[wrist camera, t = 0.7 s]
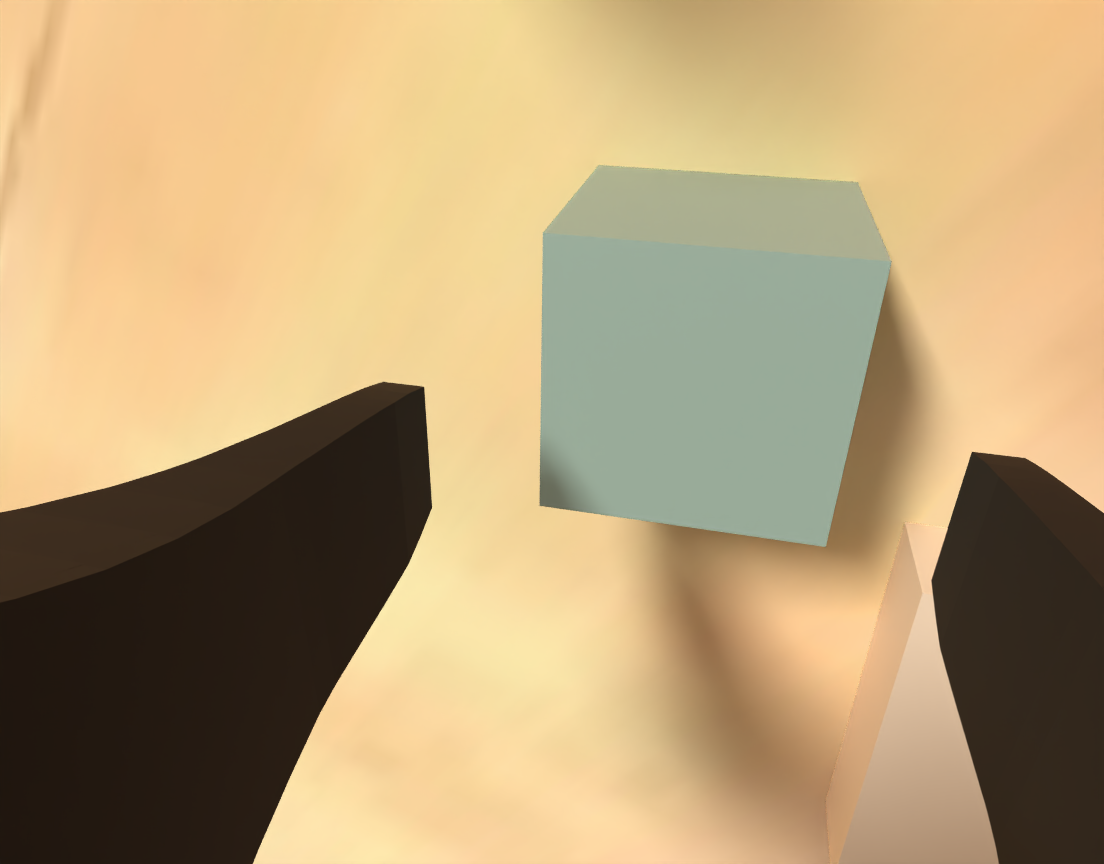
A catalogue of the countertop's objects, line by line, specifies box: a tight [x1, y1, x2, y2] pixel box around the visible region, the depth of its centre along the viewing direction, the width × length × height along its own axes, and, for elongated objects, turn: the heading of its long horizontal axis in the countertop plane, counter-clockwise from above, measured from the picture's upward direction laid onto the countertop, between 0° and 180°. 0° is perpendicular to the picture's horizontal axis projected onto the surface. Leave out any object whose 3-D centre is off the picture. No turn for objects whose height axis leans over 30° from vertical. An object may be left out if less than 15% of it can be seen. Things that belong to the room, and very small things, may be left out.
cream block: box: [825, 522, 999, 864], centre depth 20 cm, size 10×10×3 cm
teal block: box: [540, 165, 892, 547], centre depth 15 cm, size 5×5×5 cm
